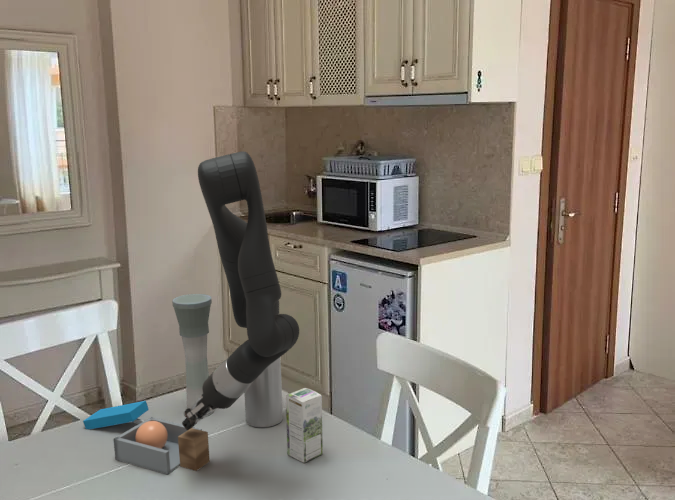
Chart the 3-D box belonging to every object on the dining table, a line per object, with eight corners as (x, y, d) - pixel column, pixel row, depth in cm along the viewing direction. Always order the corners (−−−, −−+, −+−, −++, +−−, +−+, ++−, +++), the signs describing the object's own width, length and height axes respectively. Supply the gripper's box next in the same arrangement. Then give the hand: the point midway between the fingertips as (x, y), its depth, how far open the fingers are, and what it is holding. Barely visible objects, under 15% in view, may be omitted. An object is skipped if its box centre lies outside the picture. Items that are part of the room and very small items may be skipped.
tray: (203, 449, 154) (201, 429, 153) (167, 474, 144) (165, 452, 143) (153, 436, 161) (151, 417, 160) (115, 459, 151) (113, 438, 150)
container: (214, 419, 169) (207, 303, 163) (176, 420, 169) (167, 304, 163) (221, 403, 179) (214, 293, 173) (185, 404, 179) (177, 294, 173)
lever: (91, 447, 167) (151, 437, 160) (82, 421, 166) (142, 409, 160) (109, 434, 173) (167, 424, 167) (100, 409, 172) (158, 398, 166)
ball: (161, 410, 153) (178, 436, 152) (149, 422, 158) (165, 447, 157) (136, 425, 148) (154, 452, 147) (124, 436, 152) (141, 463, 151)
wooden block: (209, 461, 149) (207, 431, 148) (196, 471, 145) (194, 440, 144) (193, 457, 151) (191, 427, 150) (180, 466, 147) (177, 436, 146)
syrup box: (306, 445, 155) (303, 386, 152) (323, 454, 151) (322, 393, 148) (287, 455, 151) (284, 394, 148) (304, 464, 147) (302, 401, 144)
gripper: (236, 357, 145) (195, 400, 153) (197, 378, 134) (154, 424, 142) (258, 384, 144) (215, 426, 152) (220, 408, 133) (176, 453, 141)
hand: (186, 425), depth 147 cm, fingers closed
